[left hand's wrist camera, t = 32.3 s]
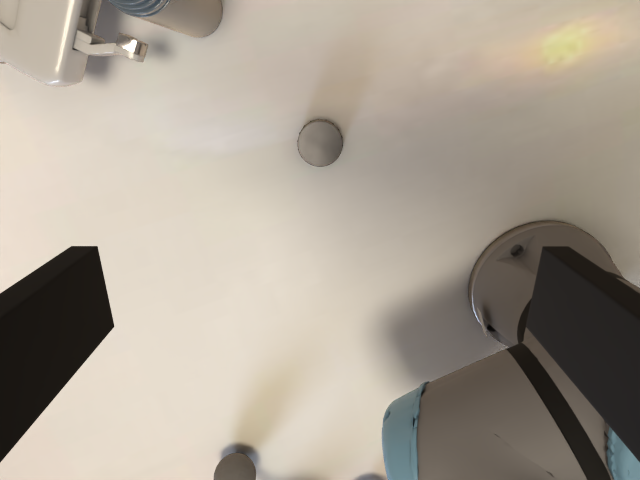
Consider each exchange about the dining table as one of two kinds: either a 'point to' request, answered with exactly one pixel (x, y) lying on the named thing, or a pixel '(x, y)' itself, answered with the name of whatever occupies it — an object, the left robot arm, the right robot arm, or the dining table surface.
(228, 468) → the molecular model
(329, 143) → the cap
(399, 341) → the dining table surface
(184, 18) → the bottle
